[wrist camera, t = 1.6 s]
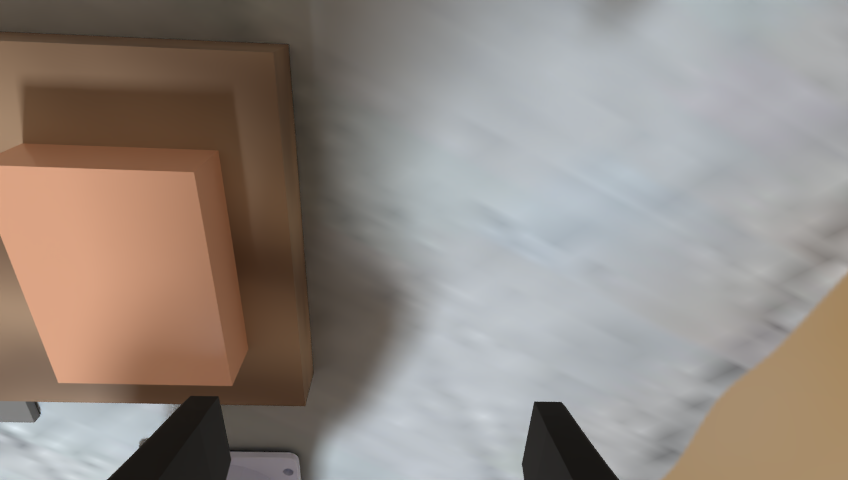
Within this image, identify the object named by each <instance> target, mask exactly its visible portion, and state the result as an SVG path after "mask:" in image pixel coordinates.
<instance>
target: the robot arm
mask: <svg viewBox="0 0 848 480" xmlns="http://www.w3.org/2000/svg"><path fill="white" fill-rule="evenodd" d="M522 467H523V474H524V480H619V479H618V478H617V477H616V475H615V474H614V473H613V471H612V470H611V469H610V468H609V466H608V465H607V464H606V462H605V461H604V460H603V458H602V457H601V456H600V454H599V453H598V452H597V450H596V449H595V448H594V446H593V445H592V444H591V442H590V441H589V439H588V438H587V437H586V435H585V434H584V432H583V431H582V430H581V428H580V427H579V425H578V424H577V423H576V421H575V420H574V418H573V417H572V415H571V414H570V413H569V411H568V410H567V408H566V407H565V406H564V405H563V403H562V402H534V406H533V411H532V416H531V421H530V426H529V431H528V436H527V441H526V446H525V451H524V456H523V461H522ZM107 480H301V474H300V464H299V458H298V456H296V455H295V454H293V453H290V452H230V451H229V446H228V441H227V436H226V430H225V425H224V420H223V415H222V410H221V405H220V400H219V396H190V397H189V398H188V399H186V400H185V401H184V402H183V403H182V405H181V406H180V407H179V408H178V409H177V410H176V411H175V412H174V413H173V414H172V415H171V416H170V417H169V418H168V419H167V420H166V421H165V422H164V423H163V424H162V425H161V426H160V427H159V428H158V429H157V430H156V431H155V432H154V433H153V435H152V436H151V437H150V438H149V439H148V440H147V441H146V442H145V443H144V444H143V445H142V446H141V447H140V448H139V449H138V450H137V451H136V452H135V453H134V454H133V455H132V456H131V457H130V458H129V459H128V460H127V461H126V462H125V463H124V464H123V465H122V466H121V467H120V468H119V469H118V470H117V471H116V472H115V473H113V474H112V475H111V476H110V477H109V478H108V479H107Z"/></svg>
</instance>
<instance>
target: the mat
mask: <svg viewBox="0 0 848 480" xmlns="http://www.w3.org/2000/svg"><path fill="white" fill-rule="evenodd" d="M39 416H40V414H39V412H38V410H37V407H36V405H35V403H34V402H28V401H0V422H35V421H36V420H37V419H38V418H39Z"/></svg>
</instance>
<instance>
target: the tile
mask: <svg viewBox="0 0 848 480" xmlns="http://www.w3.org/2000/svg"><path fill="white" fill-rule="evenodd" d="M0 236H1V238H2V241H3V243H4V246H5V248H6V251H7V253H8V256H9V259H10V261H11V264H12V266H13V269H14V271H15V274H16V276H17V279H18V282H19V284H20V287H21V289H22V292H23V294H24V297H25V299H26V302H27V304H28V307H29V310H30V312H31V315H32V317H33V320H34V322H35V325H36V327H37V330H38V332H39V335H40V338H41V340H42V343H43V345H44V348H45V350H46V353H47V355H48V358H49V361H50V363H51V366H52V368H53V371H54V373H55V376H56V378H57V381H58V383H88V384H144V385H201V386H232V385H233V383H234V381H235V378H236V376H237V374H238V372H239V369H240V367H241V365H242V363H243V360H244V358H245V356H246V353H247V351H248V343H247V336H246V329H245V323H244V316H243V310H242V303H241V296H240V290H239V283H238V277H237V270H236V263H235V257H234V250H233V244H232V237H231V230H230V224H229V217H228V211H227V204H226V197H225V191H224V184H223V177H222V171H221V164H220V158H219V151H218V150H194V149H166V148H138V147H110V146H82V145H54V144H26V143H22V144H20V145H18V146H15V147H13V148H11V149H8V150H6V151H4V152H1V153H0Z"/></svg>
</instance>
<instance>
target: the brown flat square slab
mask: <svg viewBox="0 0 848 480" xmlns="http://www.w3.org/2000/svg"><path fill="white" fill-rule="evenodd" d="M22 143H26V144H54V145H82V146H110V147H138V148H166V149H194V150H218V151H219V158H220V164H221V171H222V177H223V184H224V191H225V197H226V204H227V211H228V217H229V224H230V230H231V237H232V244H233V250H234V257H235V263H236V270H237V277H238V283H239V290H240V296H241V303H242V310H243V316H244V323H245V329H246V336H247V343H248V351H247V353H246V356H245V358H244V360H243V363H242V365H241V367H240V369H239V372H238V374H237V376H236V378H235V381H234V383H233V385H232V386H201V385H144V384H88V383H58V381H57V378H56V376H55V373H54V371H53V368H52V366H51V363H50V361H49V358H48V355H47V353H46V350H45V348H44V345H43V343H42V340H41V338H40V335H39V332H38V330H37V327H36V325H35V322H34V320H33V317H32V315H31V312H30V310H29V307H28V304H27V302H26V299H25V297H24V294H23V292H22V289H21V287H20V284H19V282H18V279H17V276H16V274H15V271H14V269H13V266H12V264H11V261H10V259H9V256H8V253H7V251H6V248H5V246H4V243H3V241H2V238H1V236H0V401H28V402H89V403H150V404H182V403H183V402H184V401H185V400H186V399H188V398H189V397H190V396H219V400H220V405H273V406H305V405H306V401H307V397H308V393H309V389H310V385H311V381H312V377H313V373H314V371H313V358H312V345H311V332H310V319H309V306H308V293H307V280H306V267H305V254H304V241H303V228H302V215H301V202H300V189H299V176H298V163H297V150H296V136H295V123H294V110H293V97H292V84H291V71H290V58H289V45H288V44H269V43H246V42H223V41H201V40H178V39H155V38H133V37H110V36H87V35H65V34H42V33H19V32H0V153H1V152H4V151H6V150H8V149H11V148H13V147H15V146H18V145H20V144H22Z"/></svg>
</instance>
